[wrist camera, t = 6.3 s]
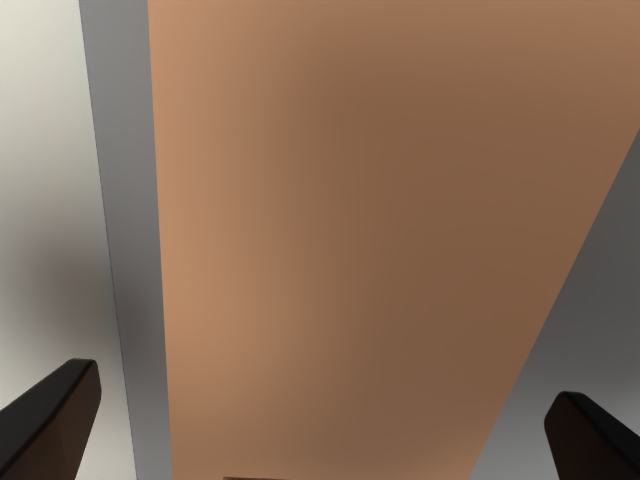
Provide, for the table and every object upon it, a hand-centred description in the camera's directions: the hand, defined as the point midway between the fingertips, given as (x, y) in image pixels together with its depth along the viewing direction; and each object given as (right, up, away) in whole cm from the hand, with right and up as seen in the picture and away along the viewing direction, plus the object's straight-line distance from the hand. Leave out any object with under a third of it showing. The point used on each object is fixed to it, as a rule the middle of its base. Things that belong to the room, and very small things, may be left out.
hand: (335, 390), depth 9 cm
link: (0, +1, +2) cm, 2 cm away
